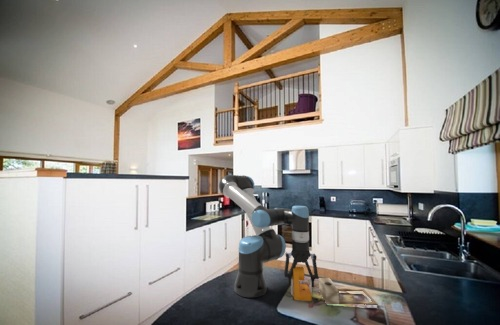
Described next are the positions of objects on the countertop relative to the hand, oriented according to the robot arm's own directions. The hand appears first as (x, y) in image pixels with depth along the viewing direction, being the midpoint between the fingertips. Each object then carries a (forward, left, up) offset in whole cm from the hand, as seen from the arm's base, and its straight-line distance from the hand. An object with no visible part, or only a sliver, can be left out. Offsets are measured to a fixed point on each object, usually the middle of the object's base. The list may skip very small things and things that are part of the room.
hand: (301, 294), depth 91 cm
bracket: (0, 0, -1) cm, 1 cm away
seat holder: (+19, 0, -1) cm, 19 cm away
